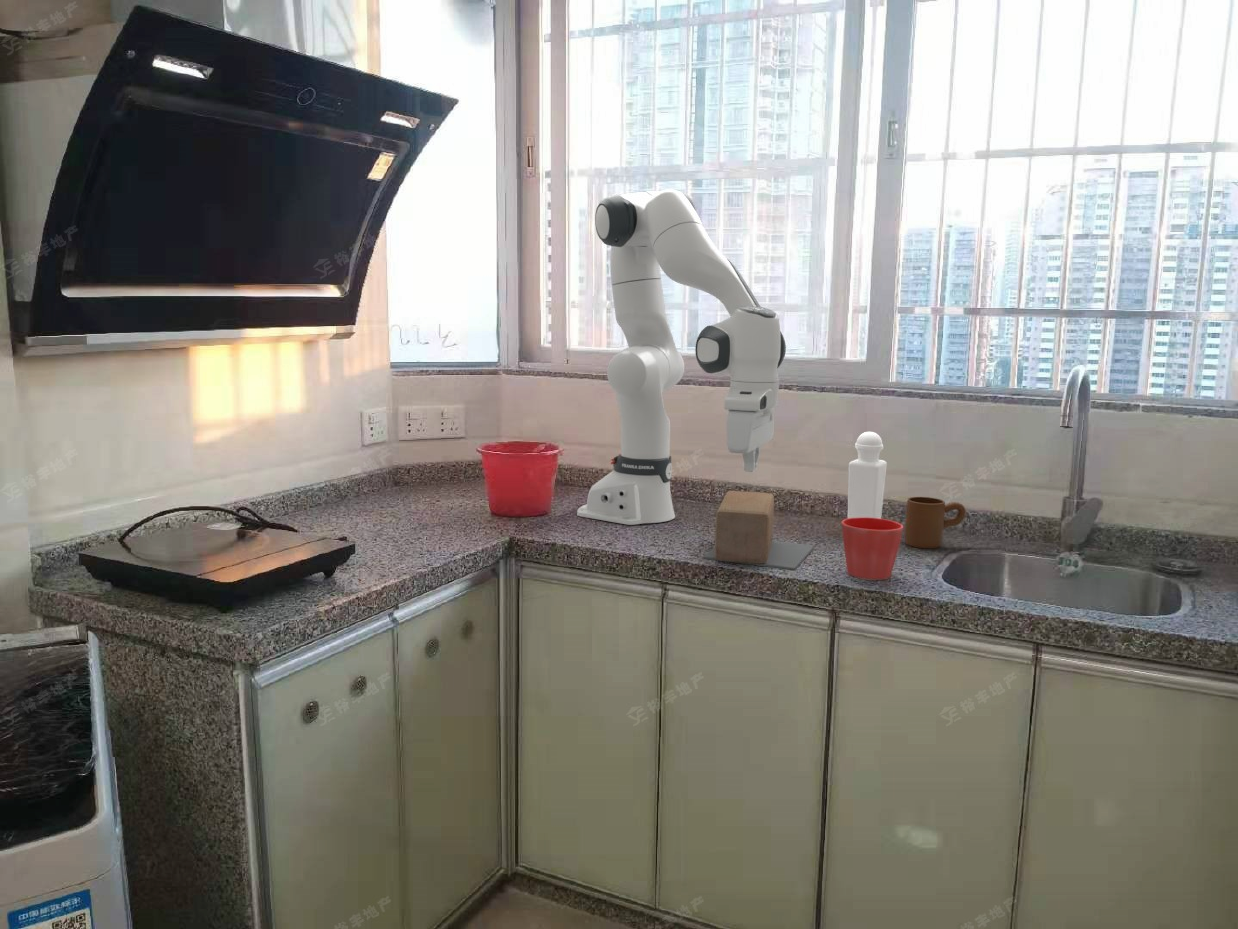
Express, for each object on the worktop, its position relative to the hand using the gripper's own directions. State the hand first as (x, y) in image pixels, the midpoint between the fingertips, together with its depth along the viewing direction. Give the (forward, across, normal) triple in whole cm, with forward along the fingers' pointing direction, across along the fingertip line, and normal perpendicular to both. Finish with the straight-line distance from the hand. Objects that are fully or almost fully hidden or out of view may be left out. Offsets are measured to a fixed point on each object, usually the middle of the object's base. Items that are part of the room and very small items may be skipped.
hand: (750, 470), depth 176 cm
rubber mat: (+18, -10, 0) cm, 21 cm away
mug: (+18, -32, +31) cm, 48 cm away
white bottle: (+18, -37, +16) cm, 44 cm away
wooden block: (+13, +1, -1) cm, 13 cm away
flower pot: (+18, -4, +22) cm, 29 cm away
